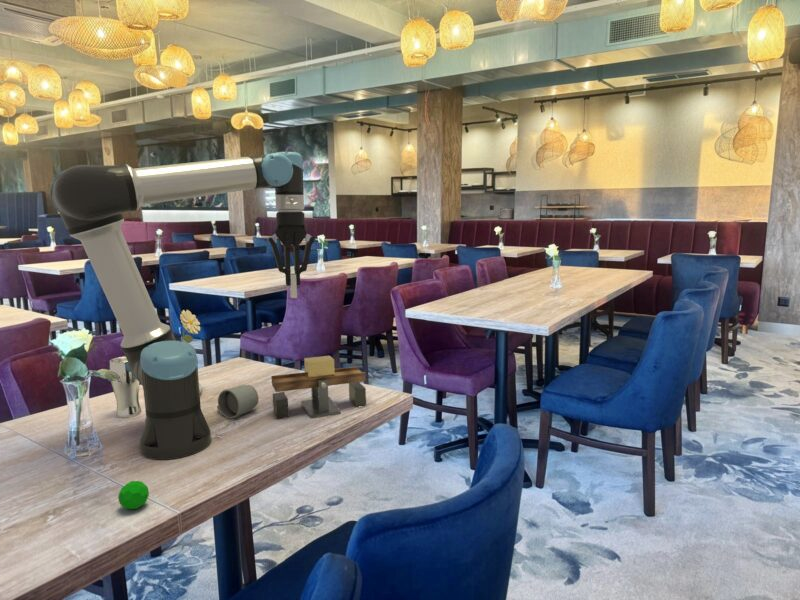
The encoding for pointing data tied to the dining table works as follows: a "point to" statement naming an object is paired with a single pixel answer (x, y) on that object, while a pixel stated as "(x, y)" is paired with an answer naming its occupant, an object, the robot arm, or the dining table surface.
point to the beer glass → (125, 389)
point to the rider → (319, 367)
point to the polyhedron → (133, 495)
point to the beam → (316, 379)
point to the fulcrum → (319, 401)
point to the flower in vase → (190, 328)
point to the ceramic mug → (237, 401)
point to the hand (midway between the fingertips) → (293, 297)
